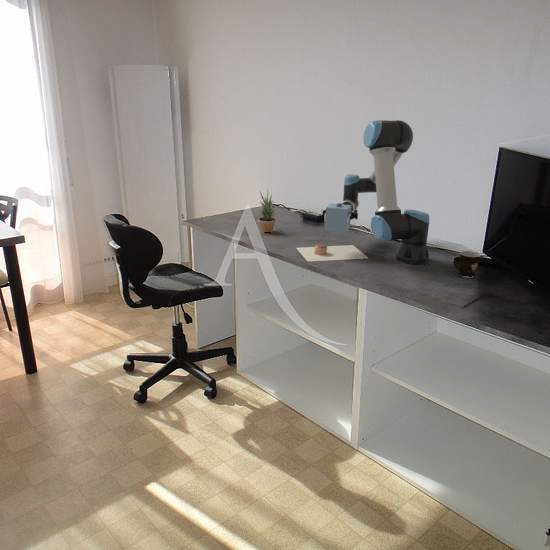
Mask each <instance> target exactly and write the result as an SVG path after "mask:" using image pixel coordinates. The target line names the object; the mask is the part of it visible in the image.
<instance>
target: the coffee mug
mask: <svg viewBox="0 0 550 550" xmlns="http://www.w3.org/2000/svg"><path fill="white" fill-rule="evenodd" d="M481 256H482V254H481V253H479V252H477V251H473V250H472V251H471V250H462V251H459V257H456V258H454V260H453V266H454V268H456V269H457V270H458V272H459V273H458V274H460V275H462V276H469V277H472V276H475V277H476V274H477V270H478V267H479V263H480V260H481V258H482V257H481ZM457 260H459V266H457V265H456V262H457Z"/></svg>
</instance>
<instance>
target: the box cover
mask: <svg viewBox="0 0 550 550" xmlns="http://www.w3.org/2000/svg"><path fill="white" fill-rule="evenodd" d="M341 203H342V202H341ZM341 203H339V202H338V203H330V204H329V205H328V206H326V207H325V210H326V220H324V222H325V224H324V226H325V227H324V231H327V232H328V231H329V232H337V233H338V232H339V233H347V232H348V230H350V228H351V220H350V221H349V222H347V216H348V215H349V214H351V206H352V205H344V204H341Z"/></svg>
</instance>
